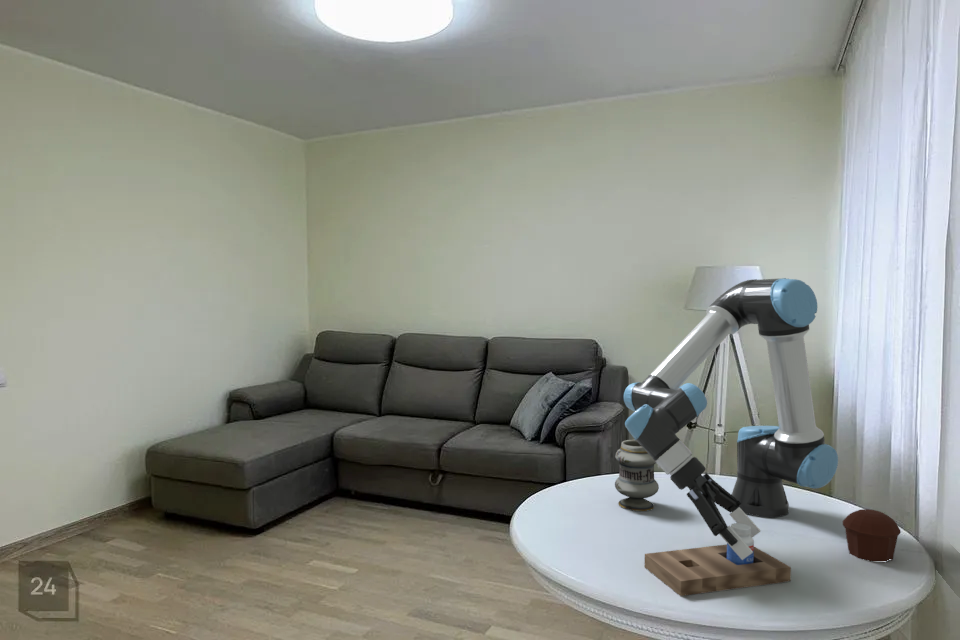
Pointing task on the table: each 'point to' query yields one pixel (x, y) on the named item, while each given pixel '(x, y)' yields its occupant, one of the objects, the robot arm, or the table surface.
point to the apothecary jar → (635, 476)
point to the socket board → (713, 570)
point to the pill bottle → (744, 534)
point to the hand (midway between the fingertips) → (752, 545)
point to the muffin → (871, 535)
